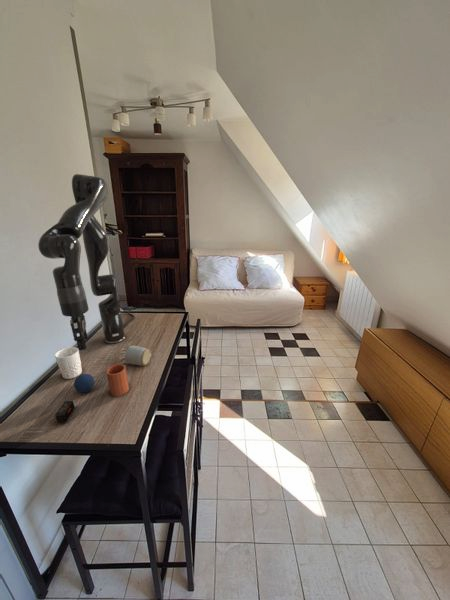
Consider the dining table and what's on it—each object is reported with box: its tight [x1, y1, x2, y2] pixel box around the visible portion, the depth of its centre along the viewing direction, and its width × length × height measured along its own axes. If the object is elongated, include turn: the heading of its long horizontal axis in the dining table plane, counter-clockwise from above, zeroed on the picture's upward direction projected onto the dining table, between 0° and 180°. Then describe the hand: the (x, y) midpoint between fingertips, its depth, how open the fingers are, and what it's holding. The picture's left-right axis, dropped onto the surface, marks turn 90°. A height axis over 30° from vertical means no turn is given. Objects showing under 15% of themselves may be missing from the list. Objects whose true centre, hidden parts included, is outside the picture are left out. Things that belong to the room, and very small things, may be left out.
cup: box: [105, 363, 130, 397], centre depth 89 cm, size 6×6×9 cm
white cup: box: [54, 346, 83, 380], centre depth 98 cm, size 8×8×10 cm
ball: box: [73, 373, 95, 393], centre depth 89 cm, size 6×6×6 cm
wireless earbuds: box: [54, 400, 76, 424], centre depth 79 cm, size 5×7×3 cm, turn 6°
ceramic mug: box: [124, 345, 152, 367], centre depth 106 cm, size 11×8×8 cm
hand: (83, 343), depth 85 cm, fingers open, 8 cm apart
